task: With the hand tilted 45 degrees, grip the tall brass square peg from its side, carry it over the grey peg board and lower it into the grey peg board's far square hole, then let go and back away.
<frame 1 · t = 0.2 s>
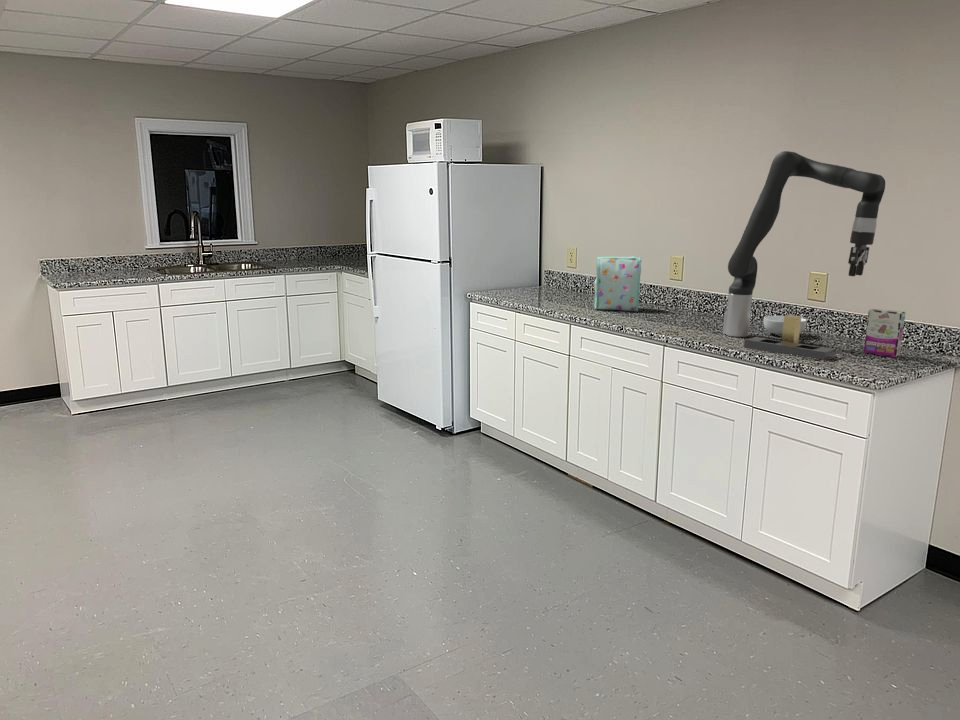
hand: (855, 275, 269), 28 cm above the worktop, tool pointing down, fingers open, 8 cm apart
brass peg: (789, 347, 281), on the worktop
lunch bag: (615, 309, 374), on the worktop
candy bar box: (881, 355, 270), on the worktop
grey peg board: (787, 352, 271), on the worktop
cereal bowl: (783, 335, 308), on the worktop
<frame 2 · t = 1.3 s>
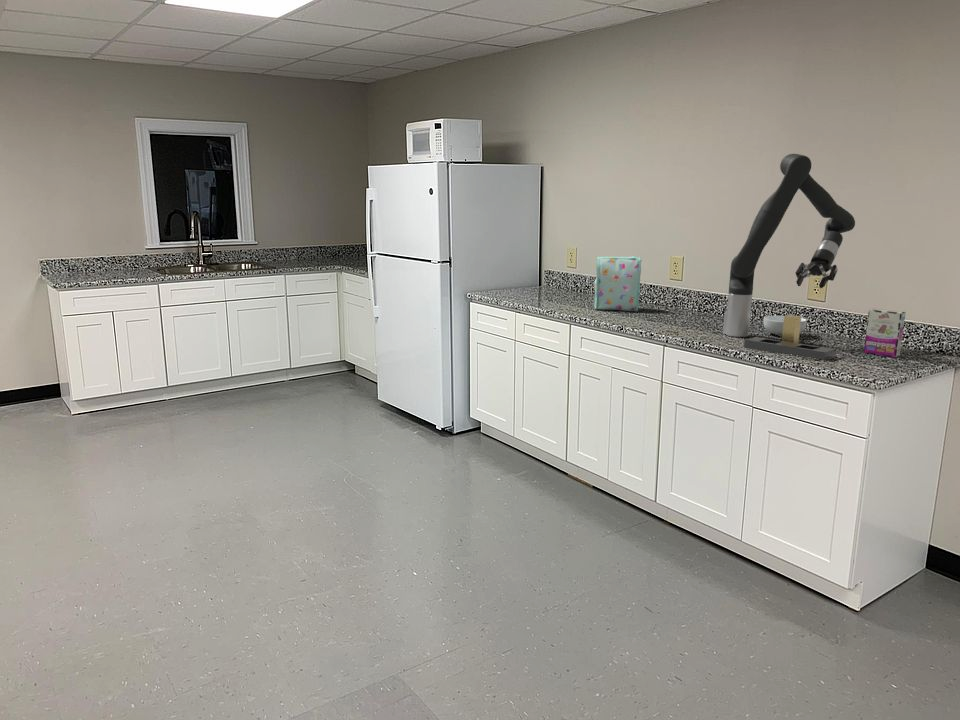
hand: (809, 285, 284), 23 cm above the worktop, tool tilted 45°, fingers open, 8 cm apart
nothing on the worktop moved.
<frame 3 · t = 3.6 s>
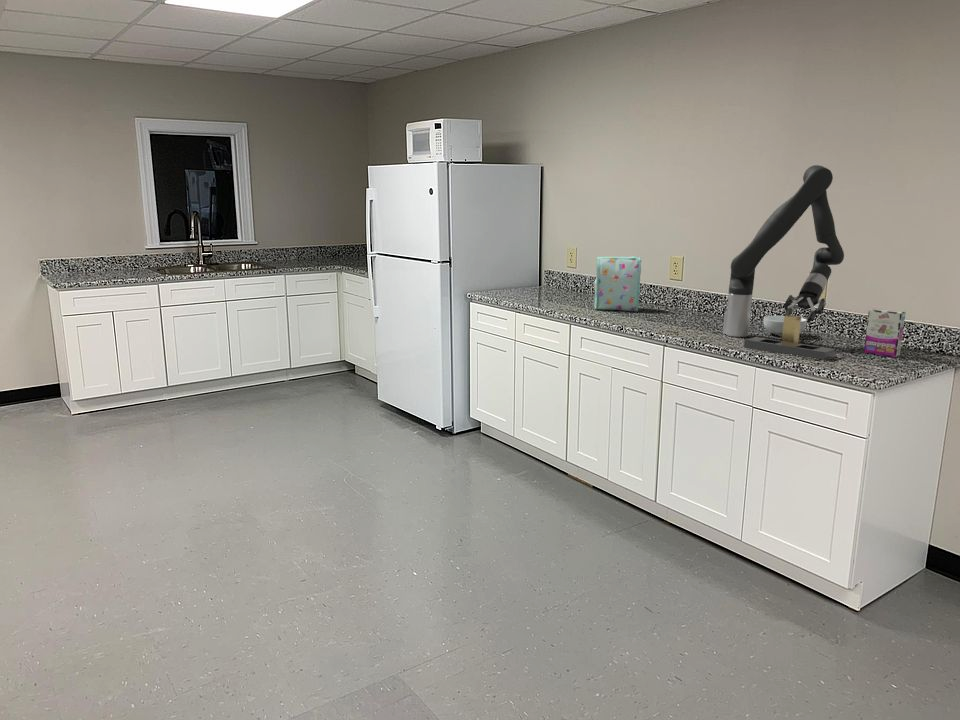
hand: (797, 319, 281), 10 cm above the worktop, tool tilted 45°, fingers open, 8 cm apart
nothing on the worktop moved.
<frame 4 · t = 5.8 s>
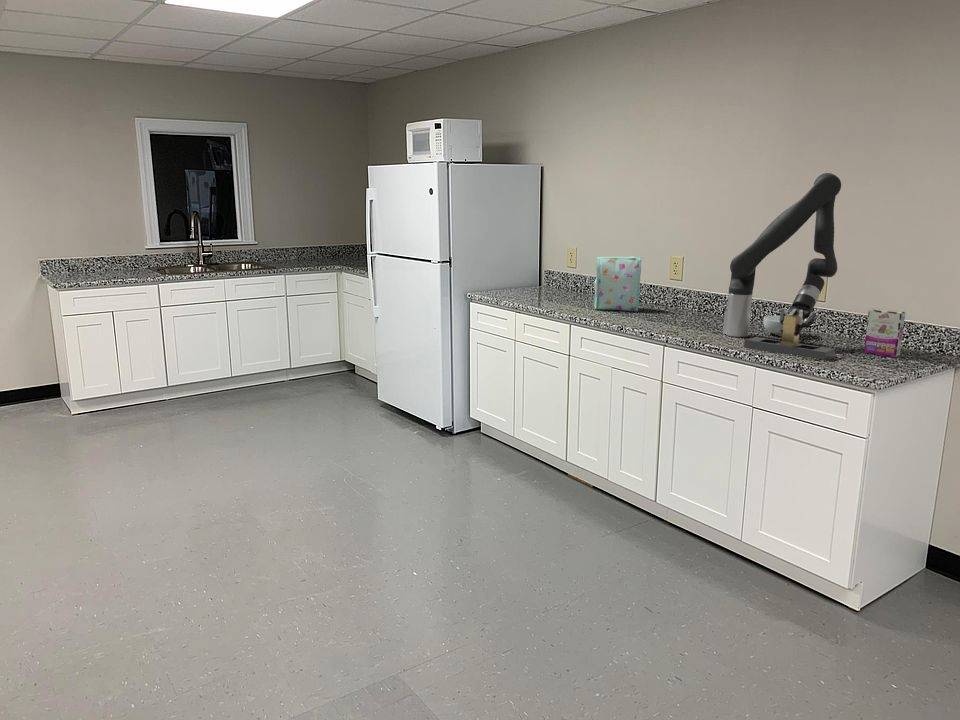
hand: (788, 333, 278), 6 cm above the worktop, tool tilted 45°, fingers closed on brass peg, 4 cm apart
brass peg: (789, 347, 281), on the worktop, touching gripper
everything else where it was.
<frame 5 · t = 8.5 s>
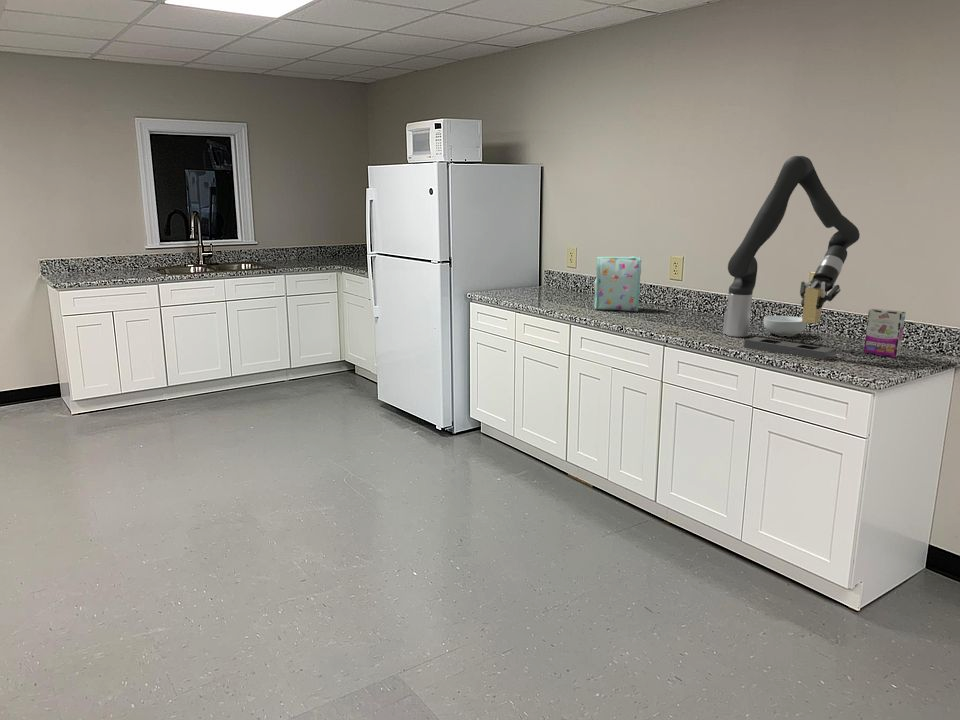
hand: (810, 306, 261), 18 cm above the worktop, tool tilted 45°, fingers closed on brass peg, 4 cm apart
brass peg: (810, 321, 264), point 12 cm above the worktop, touching gripper
everything else where it was.
when the fingers open (7 cm above the worktop, at t = 11.3 s): brass peg drops 1 cm, resting in grey peg board.
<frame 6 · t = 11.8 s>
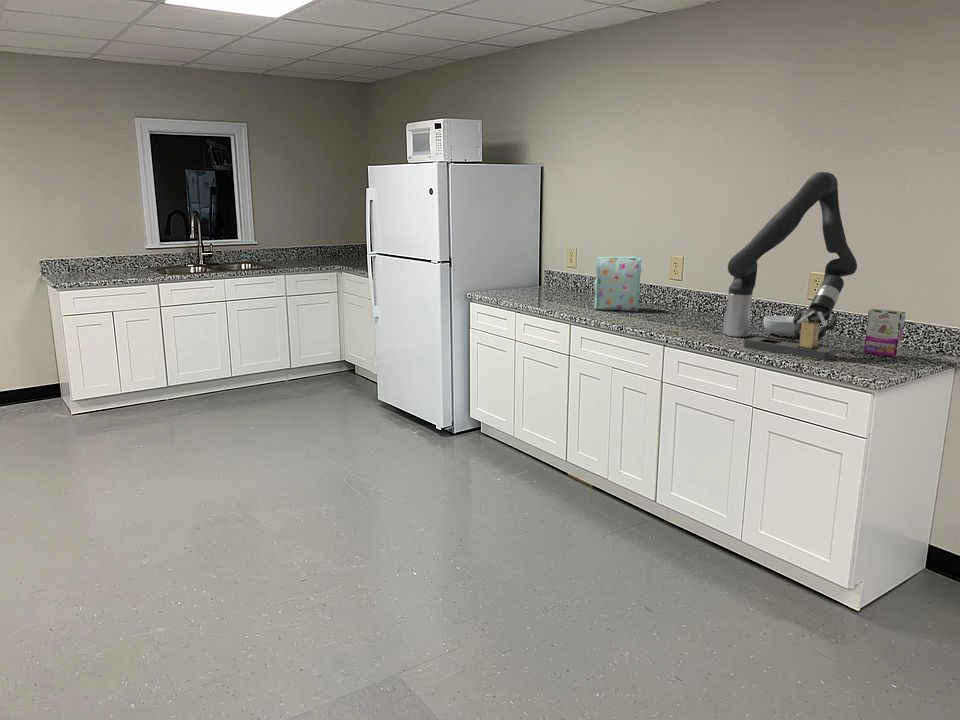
hand: (807, 334, 264), 8 cm above the worktop, tool tilted 45°, fingers open, 8 cm apart
brass peg: (807, 355, 266), resting in grey peg board
everything else where it was.
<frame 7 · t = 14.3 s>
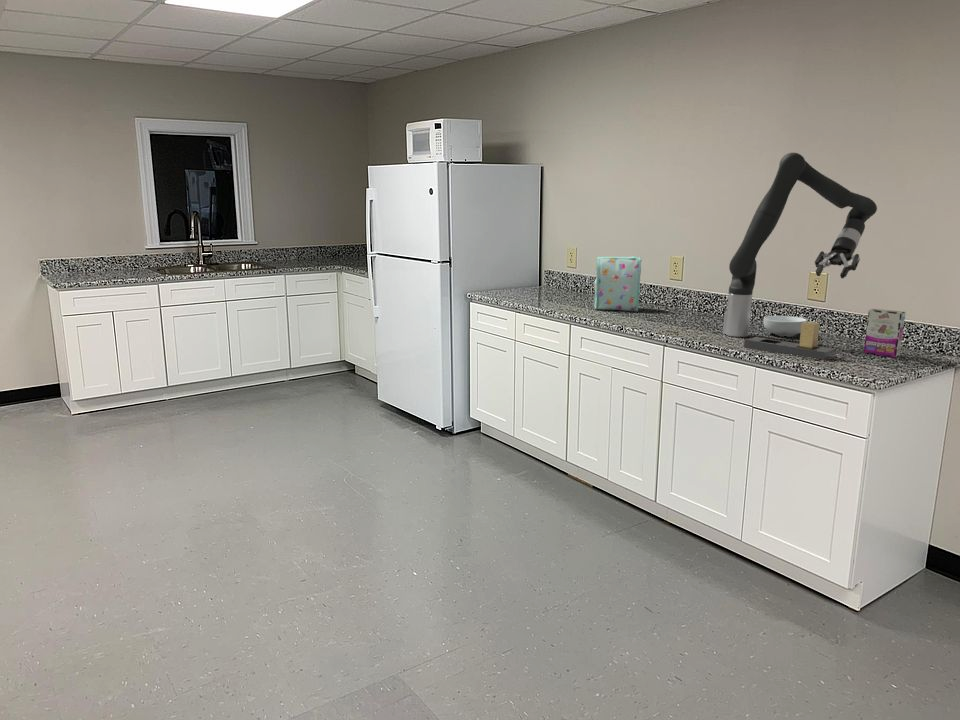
hand: (829, 275, 268), 28 cm above the worktop, tool tilted 45°, fingers open, 8 cm apart
nothing on the worktop moved.
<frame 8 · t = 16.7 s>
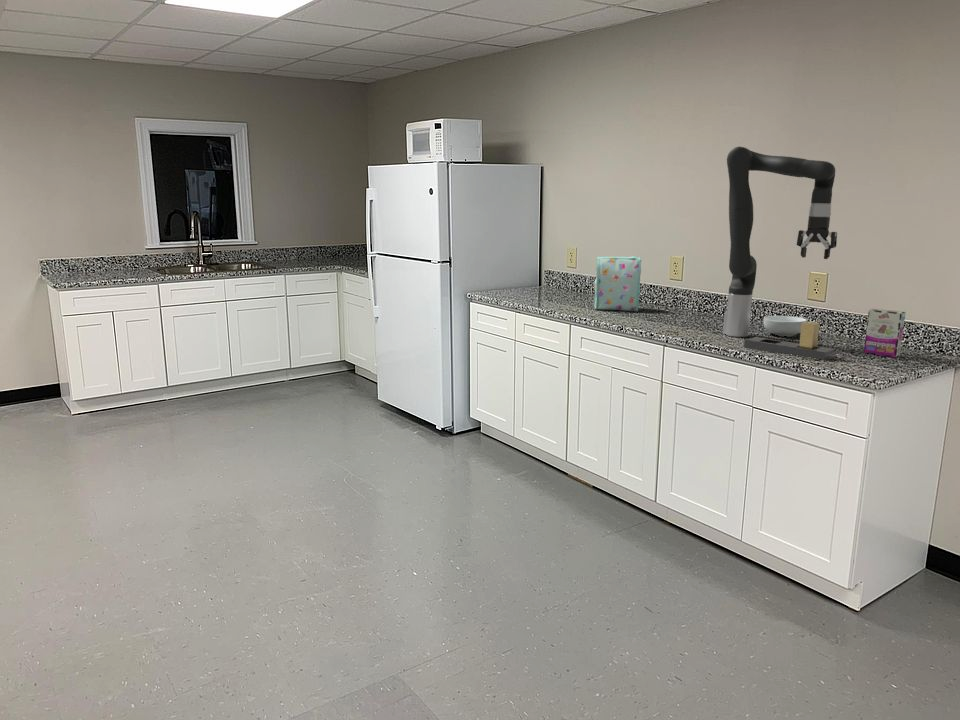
hand: (814, 258, 285), 33 cm above the worktop, tool pointing down, fingers open, 8 cm apart
nothing on the worktop moved.
at the end: brass peg 0.1 cm from the target spot on the grey peg board, point 0.0 cm above the grey peg board's base; brass peg tilted 0°; the gripper is holding nothing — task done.
